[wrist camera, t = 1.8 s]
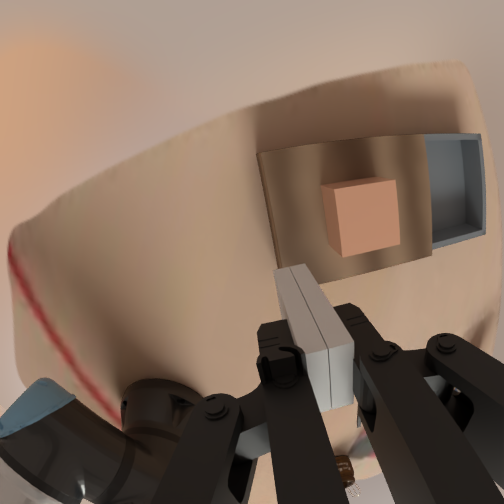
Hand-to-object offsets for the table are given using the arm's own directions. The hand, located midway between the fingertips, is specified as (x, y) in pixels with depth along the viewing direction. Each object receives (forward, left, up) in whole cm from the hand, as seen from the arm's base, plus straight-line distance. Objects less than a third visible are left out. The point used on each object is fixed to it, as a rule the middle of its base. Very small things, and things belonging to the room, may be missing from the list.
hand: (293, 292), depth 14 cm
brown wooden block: (+10, 0, -20) cm, 23 cm away
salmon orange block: (+9, 0, -14) cm, 17 cm away
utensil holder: (+7, -56, -21) cm, 60 cm away
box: (+25, 0, -20) cm, 32 cm away
